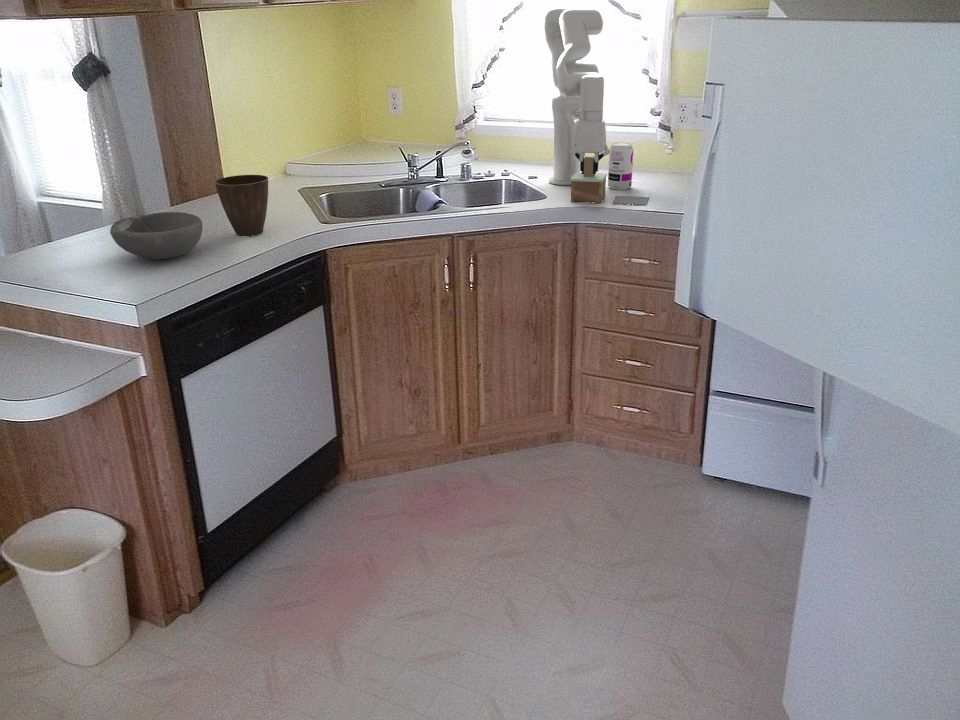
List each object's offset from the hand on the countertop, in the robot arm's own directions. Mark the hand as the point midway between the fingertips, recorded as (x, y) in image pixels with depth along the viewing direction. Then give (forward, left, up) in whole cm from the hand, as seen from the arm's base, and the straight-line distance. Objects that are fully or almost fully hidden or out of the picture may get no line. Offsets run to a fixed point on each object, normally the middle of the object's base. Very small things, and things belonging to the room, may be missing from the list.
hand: (588, 173), depth 268 cm
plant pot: (+62, -91, -9) cm, 110 cm away
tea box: (0, 0, -9) cm, 9 cm away
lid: (0, 0, -2) cm, 2 cm away
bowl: (+88, -102, -9) cm, 135 cm away
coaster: (0, +14, -9) cm, 16 cm away
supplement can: (-20, +8, -9) cm, 23 cm away
